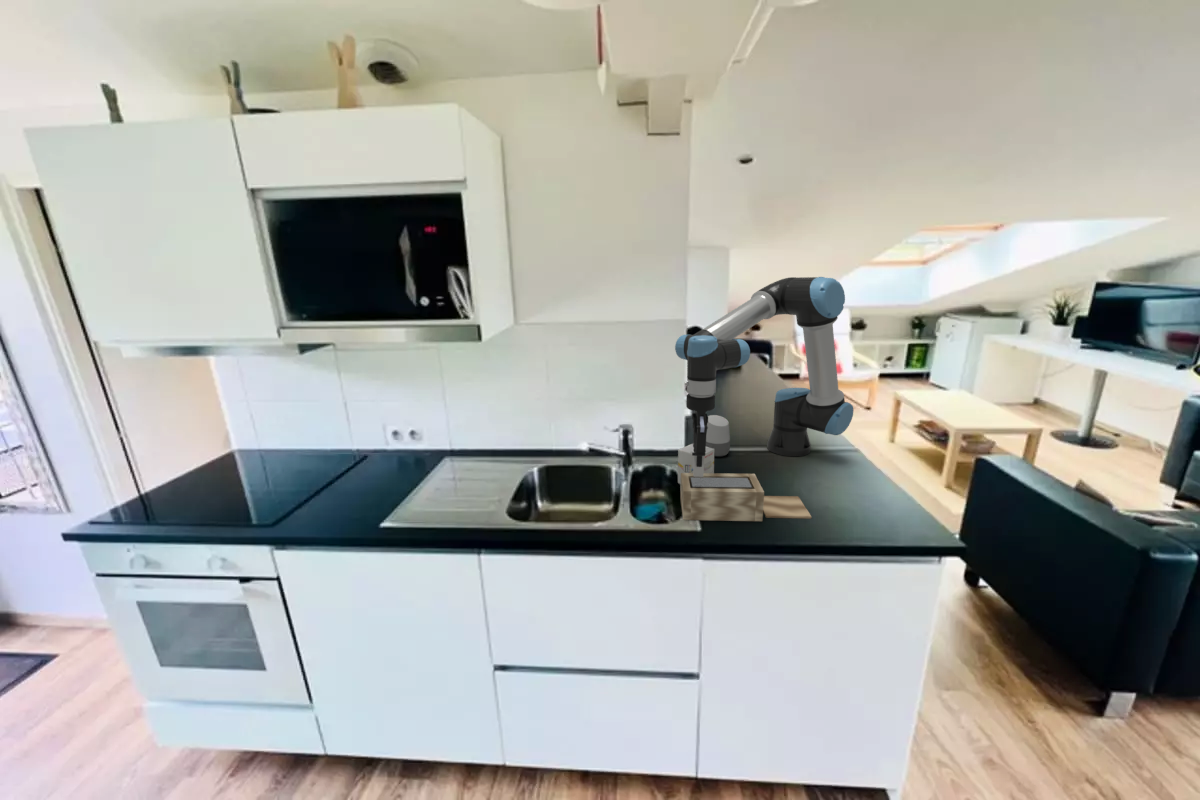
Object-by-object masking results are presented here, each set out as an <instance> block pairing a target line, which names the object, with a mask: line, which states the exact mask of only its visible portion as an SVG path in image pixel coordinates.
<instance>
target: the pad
mask: <svg viewBox="0 0 1200 800" xmlns="http://www.w3.org/2000/svg"><path fill="white" fill-rule="evenodd" d="M763 516H765V519H766V518H767V519H768V518H769V519H772V518H773V519H812V515H811V513H810V512H809V510H808V509H807V508H806V506H805V504H804V502H803V501H802V500H801V498H800V496H797V495H791V496H788V495H764V504H763Z"/></svg>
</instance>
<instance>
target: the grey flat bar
mask: <svg viewBox="0 0 1200 800" xmlns="http://www.w3.org/2000/svg"><path fill="white" fill-rule="evenodd" d="M690 485H691V488H720V489H752V486H751V484H750V482H749V480H748V478H696V477H691V483H690Z"/></svg>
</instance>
